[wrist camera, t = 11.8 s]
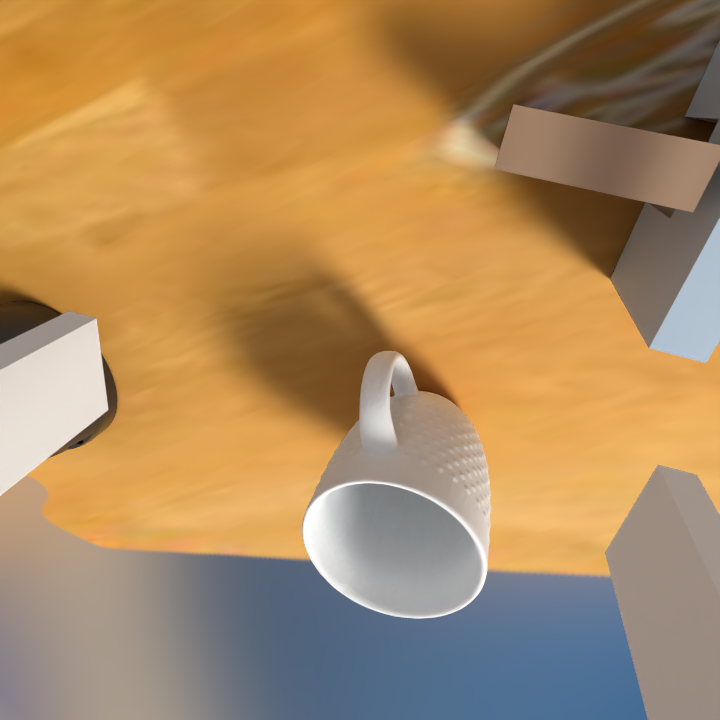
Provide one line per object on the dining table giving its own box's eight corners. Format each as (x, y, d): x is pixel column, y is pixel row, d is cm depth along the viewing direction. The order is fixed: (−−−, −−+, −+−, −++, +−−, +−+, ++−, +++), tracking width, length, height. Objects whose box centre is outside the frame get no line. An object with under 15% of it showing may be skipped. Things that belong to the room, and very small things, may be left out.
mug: (330, 329, 37) (252, 424, 26) (475, 308, 33) (457, 410, 22) (376, 481, 43) (328, 613, 32) (504, 479, 39) (501, 628, 28)
